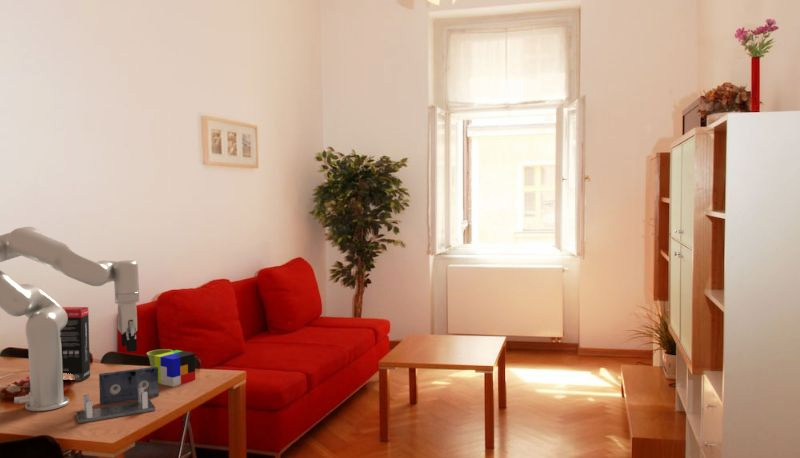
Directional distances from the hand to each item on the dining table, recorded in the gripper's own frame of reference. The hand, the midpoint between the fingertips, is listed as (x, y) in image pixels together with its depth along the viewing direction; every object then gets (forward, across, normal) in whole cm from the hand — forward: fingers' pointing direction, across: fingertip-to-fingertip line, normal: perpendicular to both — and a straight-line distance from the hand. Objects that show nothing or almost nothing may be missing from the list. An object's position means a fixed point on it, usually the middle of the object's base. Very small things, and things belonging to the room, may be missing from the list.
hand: (129, 348), depth 219 cm
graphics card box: (+17, -39, -17) cm, 46 cm away
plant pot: (+18, -27, +15) cm, 35 cm away
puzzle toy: (+18, -14, +18) cm, 29 cm away
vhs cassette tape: (+18, 0, 0) cm, 18 cm away
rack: (+17, +12, -6) cm, 22 cm away
